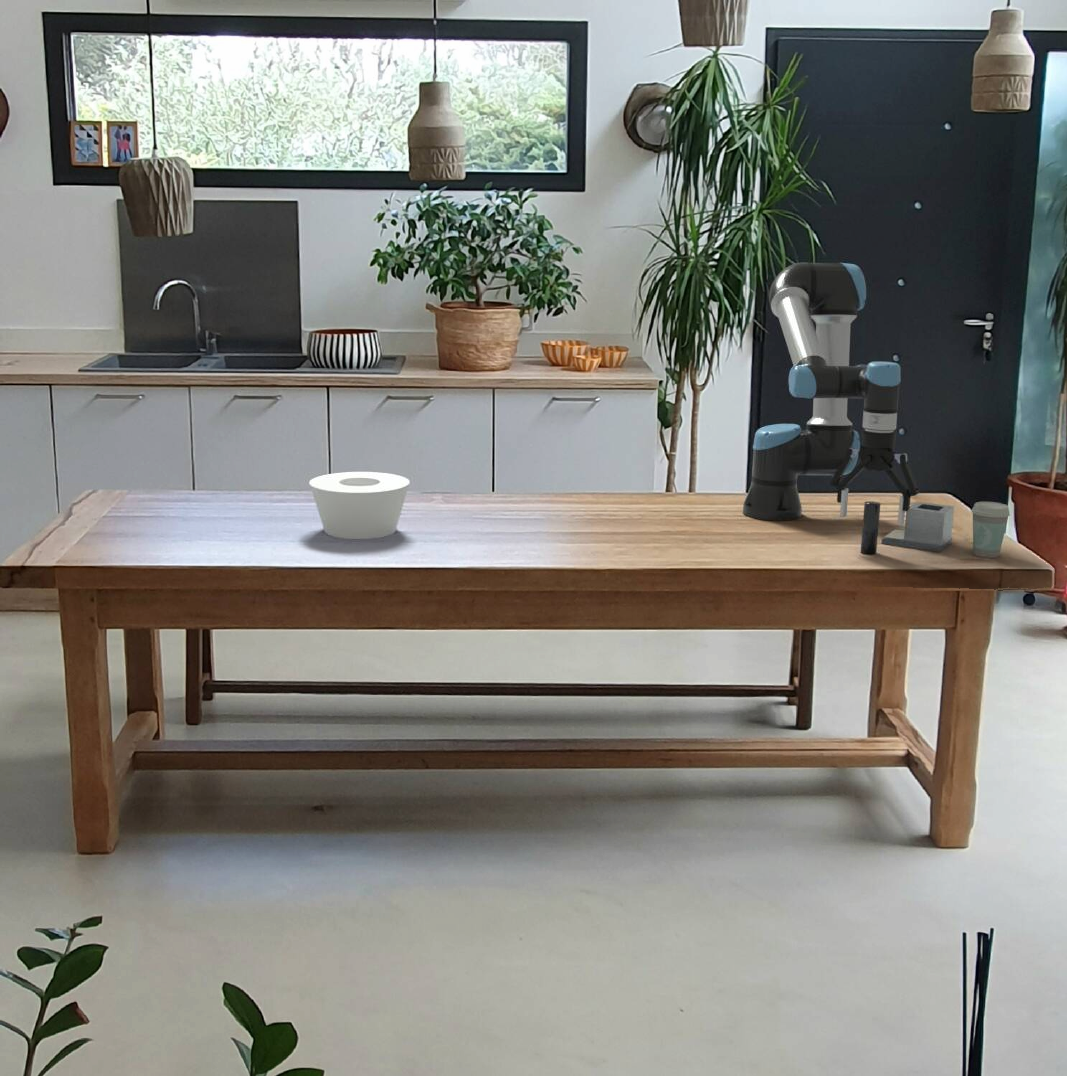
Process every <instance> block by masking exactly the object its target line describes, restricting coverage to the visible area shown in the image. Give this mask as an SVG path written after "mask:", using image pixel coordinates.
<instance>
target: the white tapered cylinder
mask: <svg viewBox="0 0 1067 1076" xmlns="http://www.w3.org/2000/svg"><path fill="white" fill-rule="evenodd" d="M410 483H411V482H410V479H408V478H407V477H404V476H402V475H398V474H394V473H388V472H387V473H386V472H378V471H377V472H375V471H347V472H345V471H344V472H335V473H328V474H324V475H323V474H322V475H319V476H316V477H314V478H312V479H310V480H309V483H308V484H309V487H310V490H311V493H312V495H313V499H314V502H315V505H316V508H317V512H318V515H319V518H320V521H321V525H322V528H323V530H324V533H326V535H329V536H331V537H334V538H338V539H339V538H340V539H347V540H348V539H349V540H369V539H378V538H384V537H388V536H390V535H392V534H394V533H395V532H396V530H397V527H398V524H399V520H400V517H401V514H402V510H403V506H404V503H405V499H406V496H407V492H408V490H409V486H410Z"/></svg>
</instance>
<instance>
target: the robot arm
mask: <svg viewBox="0 0 1067 1076" xmlns="http://www.w3.org/2000/svg"><path fill="white" fill-rule="evenodd" d="M768 295H769V296H768V299H769V302H768V303H769V305H770V309H771V312H772V314H773V315H774V316H775V317H777V318H778V320H779V324H780V327H781V330H782V334H783V336H784V339H785V342H786V346H787V349H788V353H789V355H790V359H791V362H792V364H793V366H792V367H791V368H790V370H789V374H788V390H789V393H790V394H791V396H792V397H794V398H805V399H813V407H812V417H811V418H810V419H809V420H808V421H807V422H806V429H804V430H802V428H801V426H800V425H799V424H795V423H776V424H771V425H770V424H769V425H765V426H763V427H760V428H758V429H757V430H756V432H755V434H754V439H753V445H752V449H753V452H752V469H751V484H750V486H749V489H748V492H747V493H746V497H745V499H744V502H743V505H742V513H743V514H744V515H745V516H747V517H750V518H753V519H758V520H767V521H792V520H797V519H800V518H801V517H802V513H803V512H802V511H803V507H802V502H801V499H800V496H799V495H800V494H799V491H798V476H830V477H832V479H831V481H830V482H829V484H830V486H832V487H835V488H836V489H837V496H836V502H837V503H840V509H839V518H841V519H843V518H845V517H847V514H848V500H849V488H847V486H848V485H849V484H850V483H851V482H852V481H853V480H854V479H855V478H856V477H858V475H859V474H860V473H861V472H862V471H863V470H864V469H867V470H868V471H877V472H883V471H884V472H885V474H887V475H888V476H889V477H890V479H891V480H892V482H893V483H894V485H895V486H896V487H897V489H898V491H899V492H900V494H901V496H900V497H899V503H898V516H897V525H896V526H903V525H905V517H906V511H908V510H909V508H910V506H911V498H912V497H913V496H917V495H918V494H920V489H919V486H918V484H917V481H916V479H915V477H914V474H913V471H912V469H911V467H910V464H909V455H908V453H907V452H904V453H896V452H895V445H896V444H895V443H896V432H895V430H896V429H897V421H898V420H897V419H898V407H899V398H900V397H899V396H900V384H901V379H902V376H901V365H900V364H899V363H897V362H892V361H871V362H869V363H868V364H859V365H854V366H853V365H851V366H850V348H851V347H850V345H851V344H850V343H851V324H852V323H853V321H854V320H856V318H857V317H858V312H859V311H860V310H863V308H864V307H865V304H866V299H867V286H866V280H865V276H864V273H863V271H862V270H861V268H860V267H859V266H858V265H857V264H853V263H844V262H804V261H803V262H796V263H792V264H791V265H788V266H787V267H785V268H784V269H782V270H781V271H780V272H779V273H778V274H777V275H776V277H775V279H773V282H772V283H771V287H770V289H769V294H768ZM813 321H814V322H815V325H816V326H815V325H814V322H813ZM815 327H816V328H815ZM848 399H864V400H863V401H864V403H863V412H862V415H863V416H862V429H863V430H862V431H861V438H860V434H859V433H858V431H857V430H855V429H853V422H852V421H851V420H849V418H848ZM860 439H861V440H860ZM858 458H859V460H860V463H858V464H857V462H858ZM895 460H896V462H897V463H898V464H899V466H900V470H901V471H902V474H903V476H904V479H905V481H906V483H907V484H906V483H905V481H904V480H903V478H902V476H900V474H899V473H898V471H897V470H896V467H895V466H894V465H893V462H894V461H895ZM856 465H857V466H856ZM845 475H847V476H846V477H845V478H844V479H843V480H842V481H841V479H842V477H843V476H845Z"/></svg>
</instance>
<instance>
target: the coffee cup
mask: <svg viewBox="0 0 1067 1076" xmlns="http://www.w3.org/2000/svg"><path fill="white" fill-rule="evenodd" d="M971 509H972V510H971V511H970V512H971V514H972V554H973V556H977V557H979V558H986V559H987V558H988V559H995V558H998V557H999V556H1000V554H1001V550H1002V547H1003V546H1002V545H1003V540H1004V536H1005V534H1006V533H1005V532H1006V528H1007V527H1006V526H1007V524H1008V519H1009V516H1011V514H1010V509H1009V506H1008V505H1007V504H1004V503H1002V502H996V501H995V502H994V501H978V502H975V503H974V505H973V507H972V508H971Z"/></svg>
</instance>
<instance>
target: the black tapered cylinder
mask: <svg viewBox="0 0 1067 1076" xmlns="http://www.w3.org/2000/svg"><path fill="white" fill-rule="evenodd" d="M880 515H881V502H879V501H870V500H869V501H865V502H864V506H863V517H862V518H863V519H862V529H861V530H862V531H861V540H860V541H861V542H860V554H862V555H864V556H865V555H866V556H874V555H877V549H878V547H877V546H878V537H879V525H880Z"/></svg>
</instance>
